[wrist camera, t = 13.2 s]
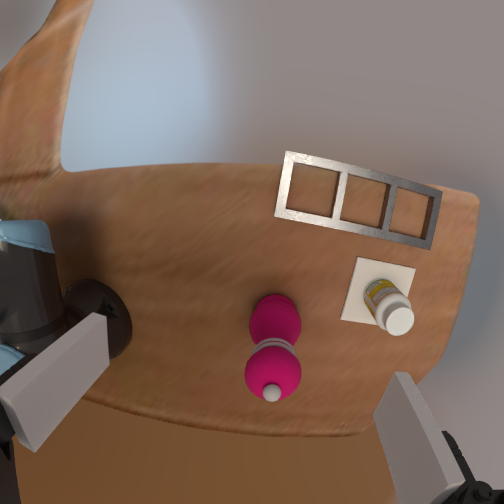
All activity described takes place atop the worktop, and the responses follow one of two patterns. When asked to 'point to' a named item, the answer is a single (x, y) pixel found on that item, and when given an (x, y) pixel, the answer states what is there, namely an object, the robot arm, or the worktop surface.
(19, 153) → the worktop surface
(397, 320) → the supplement bottle
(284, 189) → the rack frame
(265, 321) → the pepper mill
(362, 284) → the white mat
